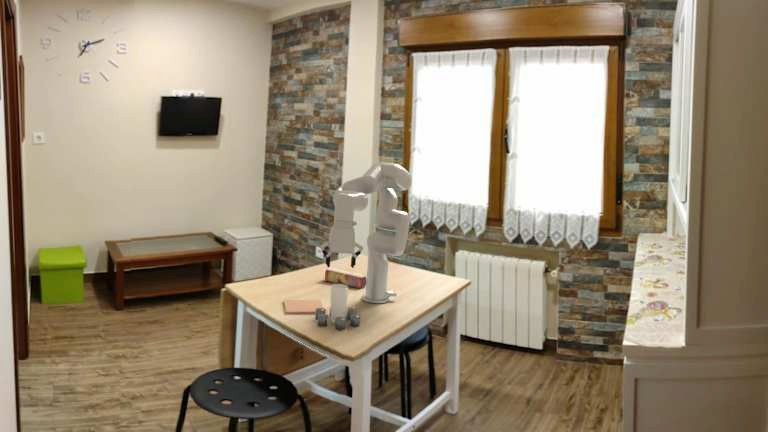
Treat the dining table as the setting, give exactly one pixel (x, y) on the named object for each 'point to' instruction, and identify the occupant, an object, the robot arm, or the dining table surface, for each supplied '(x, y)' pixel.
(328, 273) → the snack package
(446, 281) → the dining table surface
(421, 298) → the dining table surface
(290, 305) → the terracotta tile
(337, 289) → the drinking glass
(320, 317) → the spacer posts
